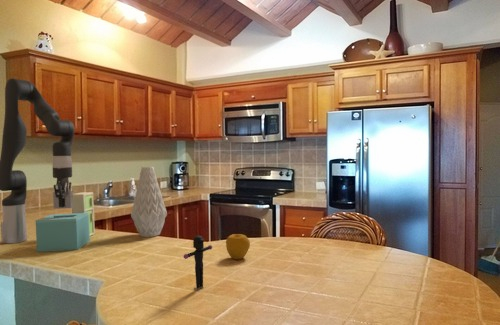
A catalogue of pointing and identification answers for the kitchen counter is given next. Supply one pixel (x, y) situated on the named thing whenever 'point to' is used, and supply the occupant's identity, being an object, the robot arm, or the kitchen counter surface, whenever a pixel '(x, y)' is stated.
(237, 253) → the apple
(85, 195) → the toy refrigerator
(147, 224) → the vase
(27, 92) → the robot arm
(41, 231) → the coin box
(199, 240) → the figurine
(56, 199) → the brushed metal block
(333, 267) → the kitchen counter surface
